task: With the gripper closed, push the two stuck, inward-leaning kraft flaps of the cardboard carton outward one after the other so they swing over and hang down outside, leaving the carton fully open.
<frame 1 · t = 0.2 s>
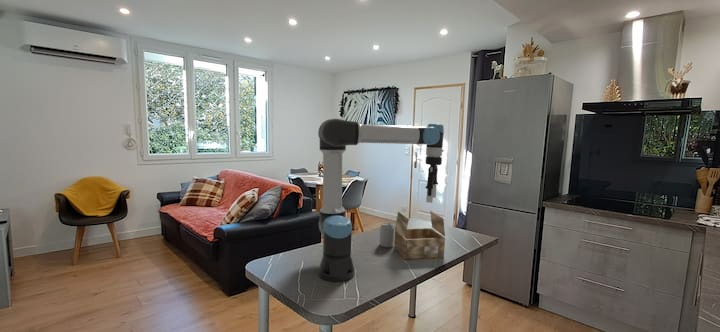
hand: (431, 199, 155), 28 cm above the table, fingers open, 13 cm apart
flap right: (437, 222, 161), point 15 cm above the table, hinge at 80.0°
can: (386, 246, 170), on the table
flap left: (401, 224, 157), point 15 cm above the table, hinge at 80.0°
carton: (418, 252, 161), on the table
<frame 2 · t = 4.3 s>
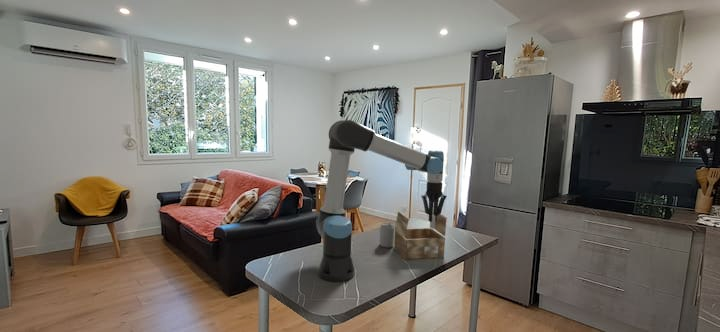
hand: (432, 227, 161), 13 cm above the table, fingers closed
flap right: (439, 222, 162), point 15 cm above the table, hinge at 90.6°, touching gripper
everything else where it was.
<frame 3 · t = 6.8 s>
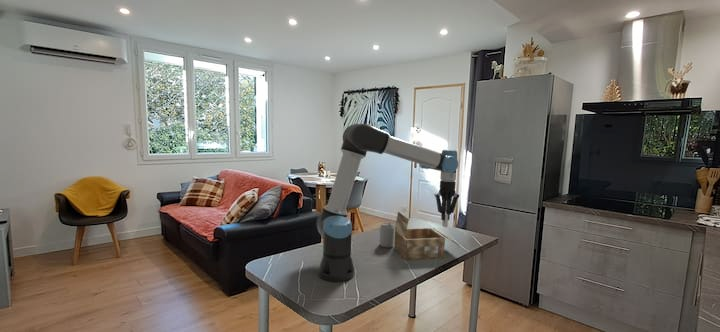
hand: (444, 226, 163), 13 cm above the table, fingers closed
flap right: (445, 236, 163), point 8 cm above the table, hinge at 210.3°
everything else where it was.
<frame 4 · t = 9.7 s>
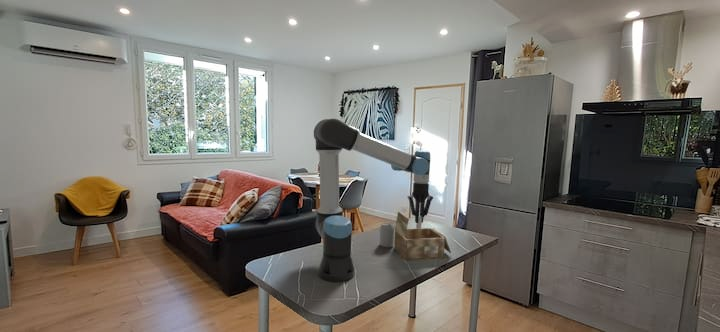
hand: (418, 228, 160), 12 cm above the table, fingers closed
flap right: (441, 240, 163), point 6 cm above the table, hinge at 246.0°
everything else where it was.
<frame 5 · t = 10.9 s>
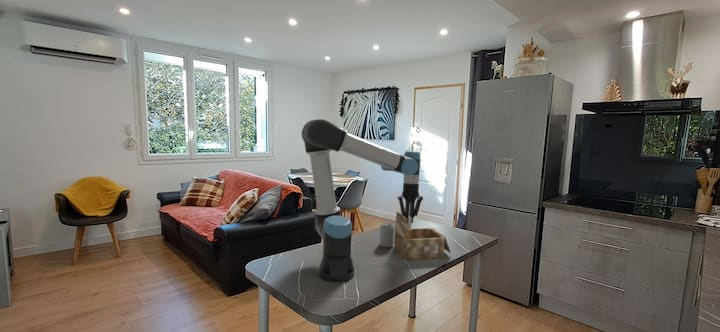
hand: (408, 229, 158), 12 cm above the table, fingers closed
flap right: (441, 240, 163), point 6 cm above the table, hinge at 247.0°
flap left: (400, 224, 157), point 15 cm above the table, hinge at 84.4°, touching gripper
everything else where it was.
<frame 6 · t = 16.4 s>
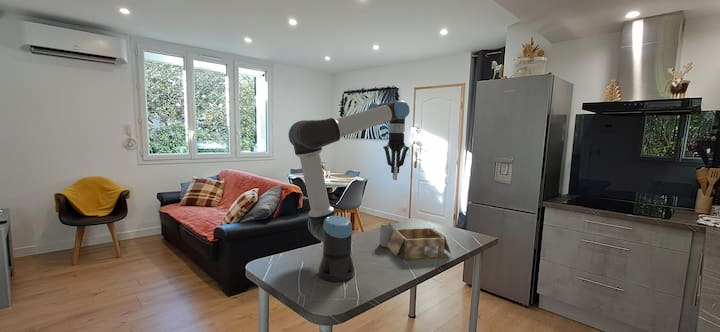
hand: (394, 179, 161), 36 cm above the table, fingers closed
flap left: (395, 242, 158), point 6 cm above the table, hinge at 246.1°
everything else where it was.
at the end: flap right at +247° (first picture: +80°); flap left at +246° (first picture: +80°) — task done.
